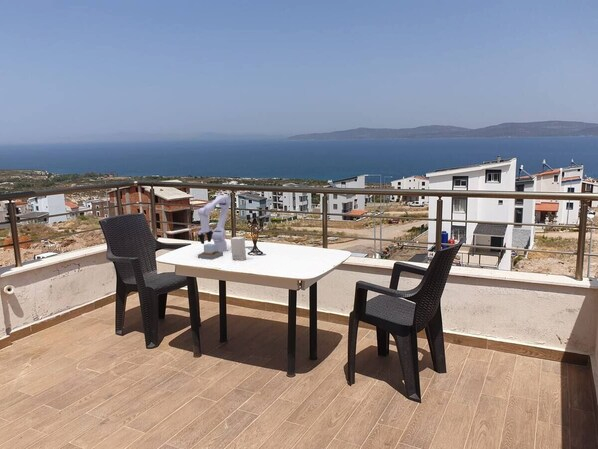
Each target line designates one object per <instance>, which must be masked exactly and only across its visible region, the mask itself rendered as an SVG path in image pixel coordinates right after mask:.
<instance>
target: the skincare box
mask: <svg viewBox="0 0 598 449" xmlns="http://www.w3.org/2000/svg"><path fill="white" fill-rule="evenodd" d="M230 247H231V258H232V261H244V260H245V259H247V254H246V253H247V252H246V251H247V250H246V241H245V236H233V237H232V238H230Z"/></svg>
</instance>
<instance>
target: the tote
mask: <svg viewBox="0 0 598 449" xmlns="http://www.w3.org/2000/svg"><path fill="white" fill-rule="evenodd" d="M223 256H224V251H223V252H218V253H217V254H215V255H212V256H211V255H202V252H201V253H198V254H197V259H200V258H201V259H202V260H211V261H213V260H215V259H217V258H221V257H223Z"/></svg>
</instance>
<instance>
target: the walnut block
mask: <svg viewBox="0 0 598 449" xmlns="http://www.w3.org/2000/svg"><path fill="white" fill-rule="evenodd" d="M201 253H202V255H211V256H212V255H215V254H217V253H218V251H215V252H212V253H211V252H204V251H202V252H201Z"/></svg>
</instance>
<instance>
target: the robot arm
mask: <svg viewBox="0 0 598 449" xmlns="http://www.w3.org/2000/svg"><path fill="white" fill-rule="evenodd" d="M231 202H232V198H231V196H230V195H228V194H227V195H222V194H221V195H220V194H218V195H216V196H215V199H214V200H213V201H211V202H207V204H206V205H203V207H201V208H199V209H198V212H197V213H198V215H199V216H198V217H199V218H200V230H199V231H197V237H198V238H199V241H200V243H201V244H202V245H205V239H206V238H207V242H209V243H210V242H212V241H213V244H216V251H218V252H223V253H224V252H228V251H229V250H228V248H227V247H228V246H227V241H226V235H227V232H226V230H225V224H226V221H227V217H228V214H229V208H230V206H231ZM217 205H218V206H219V207H220V208H221V210H220V213H219V218H218V221H217V223H216V224H217V225H216V227H214V229H213V228H210V221H209V216H210V214H211V212H212V211H213V210H214V209H215V207H216V206H217Z"/></svg>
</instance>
